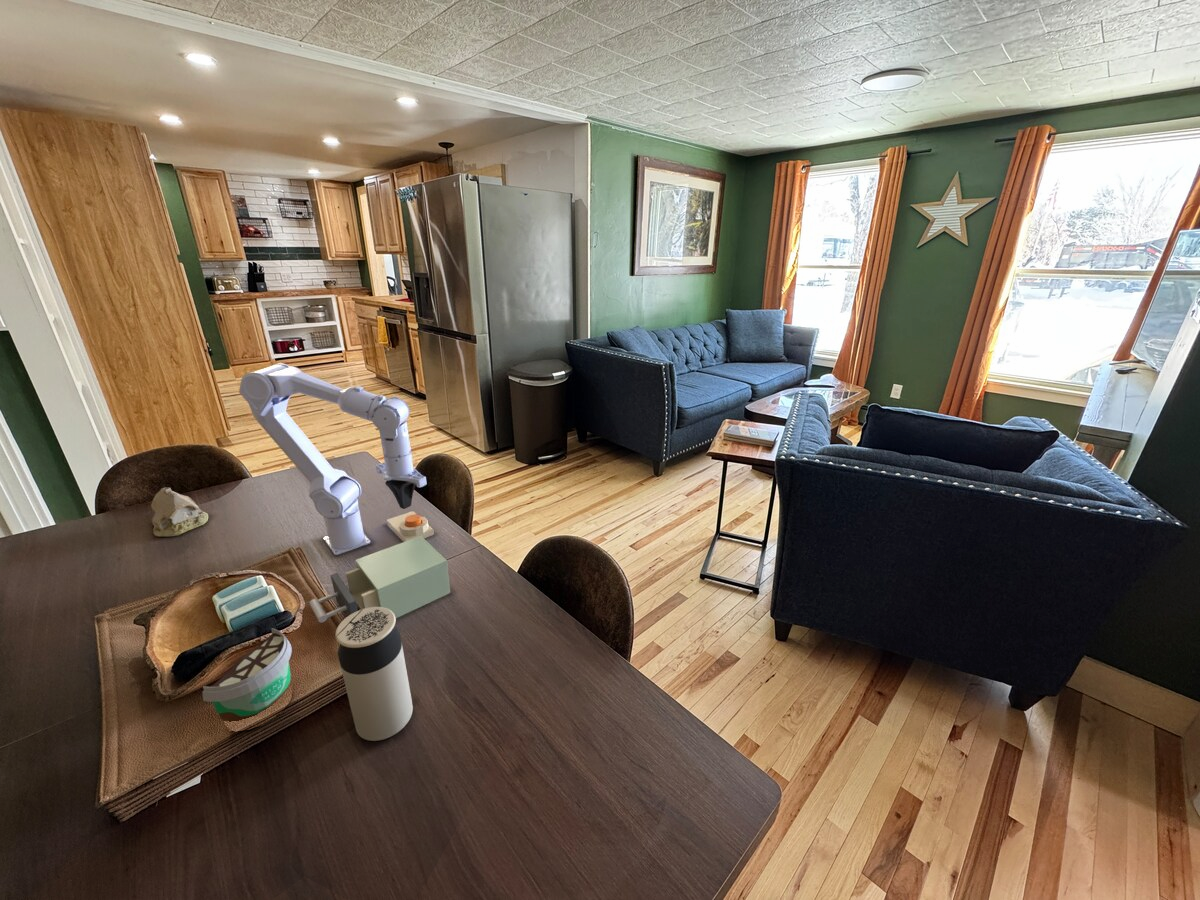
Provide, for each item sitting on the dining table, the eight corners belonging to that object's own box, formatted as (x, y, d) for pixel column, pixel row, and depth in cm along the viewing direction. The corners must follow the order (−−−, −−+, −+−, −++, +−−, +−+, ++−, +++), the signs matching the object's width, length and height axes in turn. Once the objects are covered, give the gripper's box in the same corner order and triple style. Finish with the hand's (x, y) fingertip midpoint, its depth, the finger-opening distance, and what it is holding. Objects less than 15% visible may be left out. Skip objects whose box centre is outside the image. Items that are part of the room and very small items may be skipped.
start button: (403, 523, 117) (402, 517, 116) (417, 518, 119) (416, 512, 119) (409, 529, 114) (408, 523, 114) (423, 524, 117) (423, 518, 116)
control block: (387, 525, 122) (385, 513, 120) (413, 516, 126) (412, 504, 125) (406, 545, 114) (404, 533, 112) (434, 535, 118) (432, 523, 117)
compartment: (326, 644, 83) (319, 616, 81) (309, 612, 91) (302, 585, 88) (421, 600, 94) (417, 574, 92) (399, 575, 102) (395, 550, 99)
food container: (256, 750, 66) (237, 698, 63) (219, 741, 68) (198, 689, 64) (320, 679, 78) (308, 632, 74) (288, 672, 79) (274, 625, 75)
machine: (383, 624, 90) (377, 589, 86) (361, 592, 98) (355, 559, 95) (450, 592, 98) (446, 560, 95) (425, 566, 106) (421, 535, 103)
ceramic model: (217, 522, 121) (205, 487, 117) (161, 542, 112) (147, 505, 108) (194, 506, 128) (182, 473, 124) (140, 524, 119) (126, 489, 115)
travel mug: (424, 703, 74) (409, 613, 67) (387, 750, 67) (367, 653, 60) (383, 688, 76) (364, 599, 69) (343, 732, 69) (319, 637, 62)
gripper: (360, 452, 105) (370, 505, 110) (404, 466, 98) (412, 522, 104) (387, 442, 111) (396, 493, 116) (430, 455, 104) (437, 509, 109)
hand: (405, 506), depth 110 cm, fingers closed
